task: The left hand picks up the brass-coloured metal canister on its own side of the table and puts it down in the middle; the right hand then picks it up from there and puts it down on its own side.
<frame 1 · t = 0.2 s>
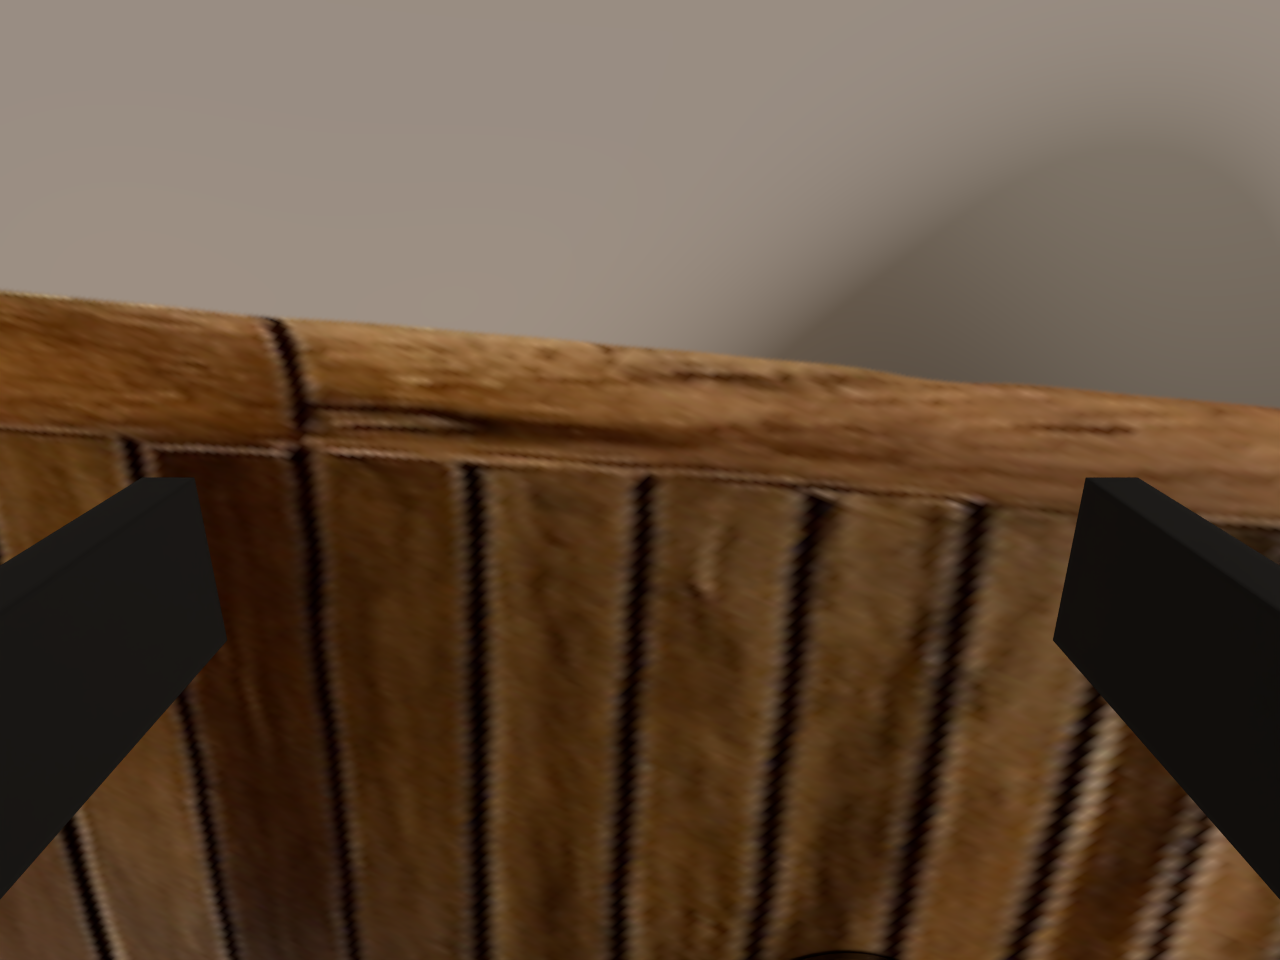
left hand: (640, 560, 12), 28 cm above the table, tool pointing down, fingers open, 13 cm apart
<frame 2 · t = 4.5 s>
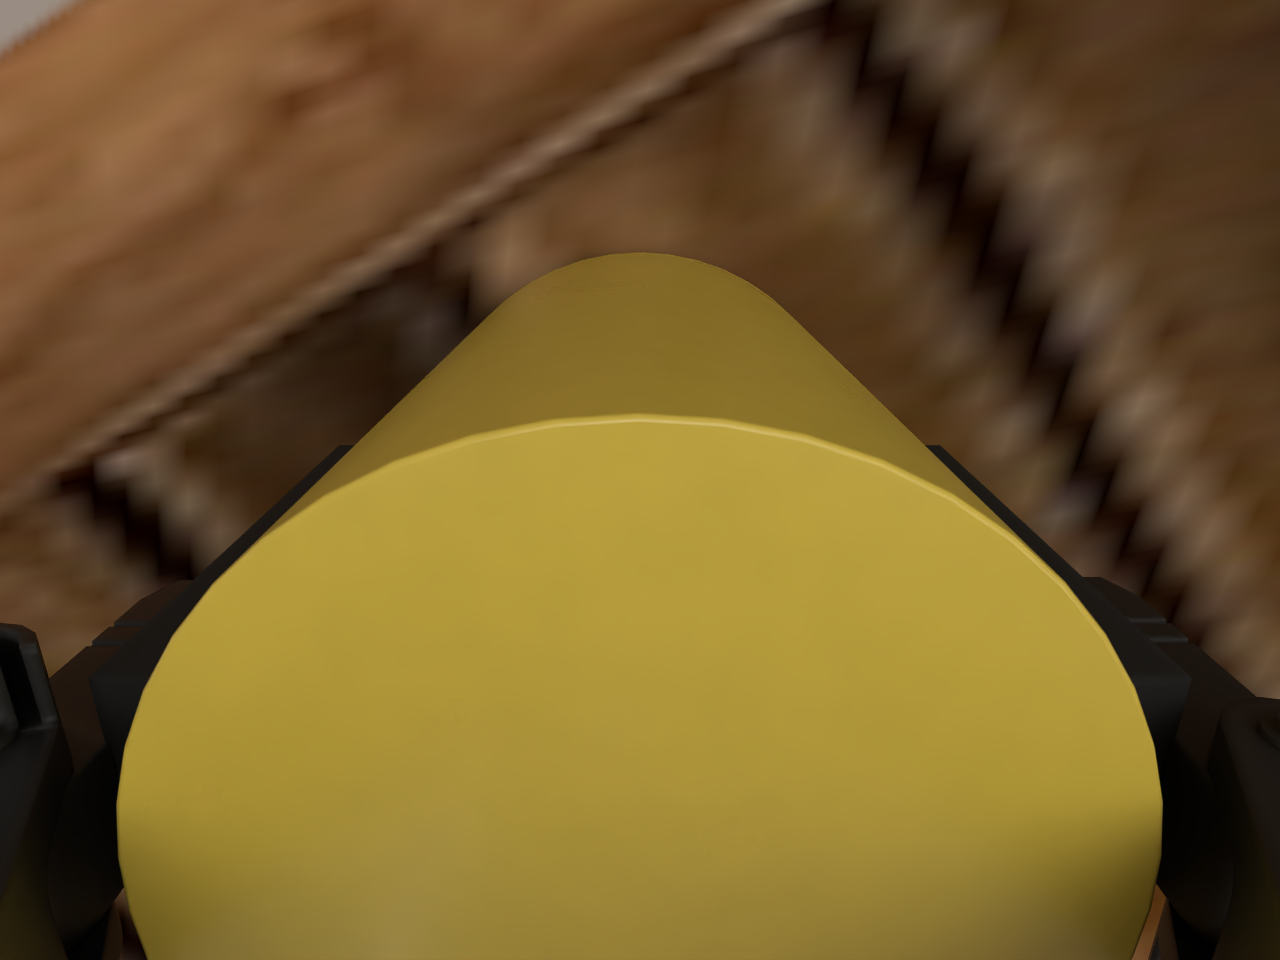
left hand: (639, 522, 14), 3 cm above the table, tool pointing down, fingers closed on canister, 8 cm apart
canister: (639, 461, 17), on the table, touching left hand
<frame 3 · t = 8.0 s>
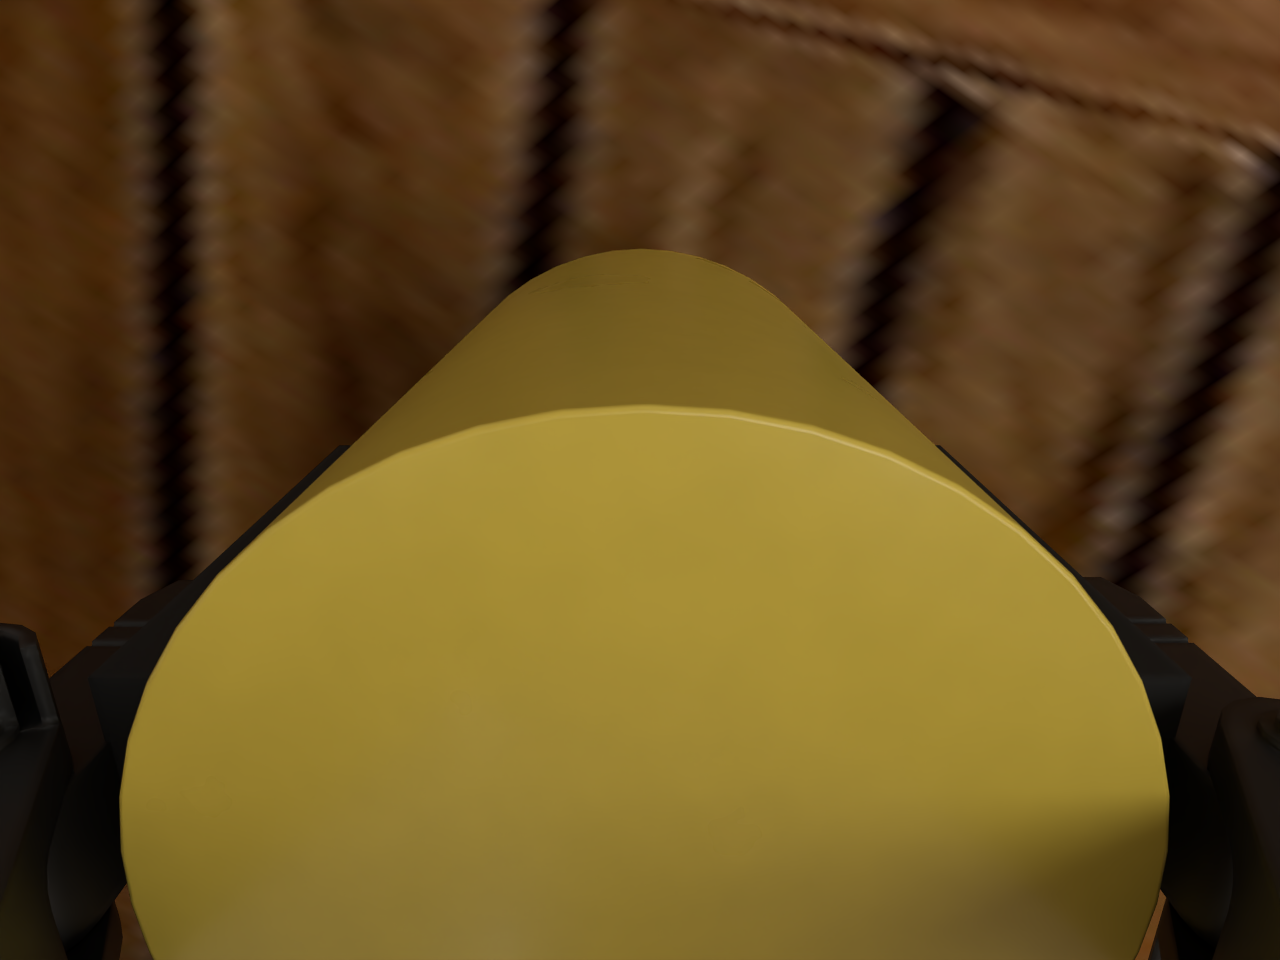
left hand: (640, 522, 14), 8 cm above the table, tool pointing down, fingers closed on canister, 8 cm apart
canister: (641, 458, 17), point 5 cm above the table, touching left hand
when the left hand's fingers open (5 cm above the table, at t = 11.7 s): canister drops 2 cm, on the table.
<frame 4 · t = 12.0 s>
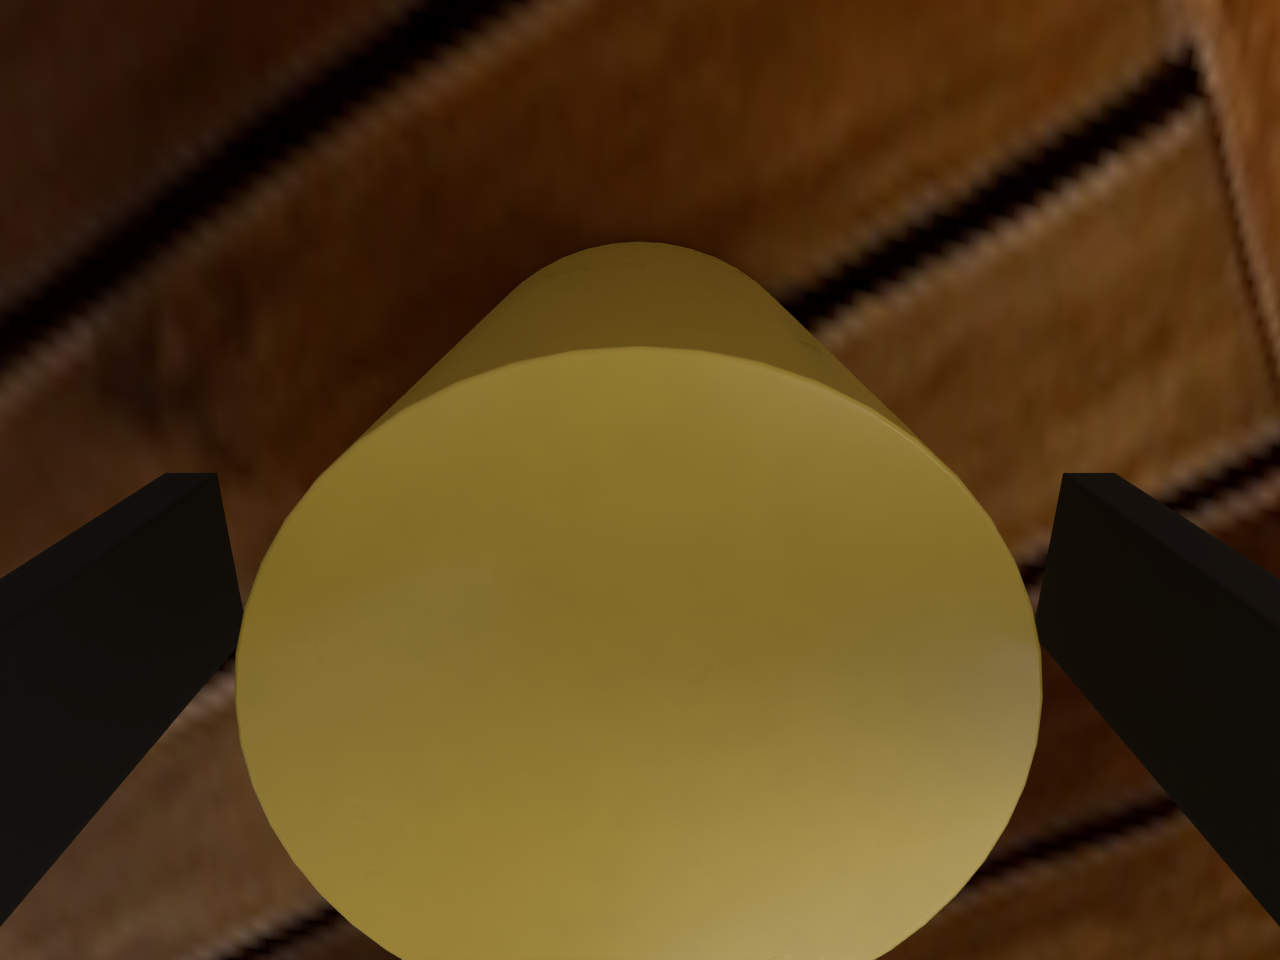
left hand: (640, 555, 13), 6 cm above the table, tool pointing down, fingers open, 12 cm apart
canister: (639, 430, 19), on the table
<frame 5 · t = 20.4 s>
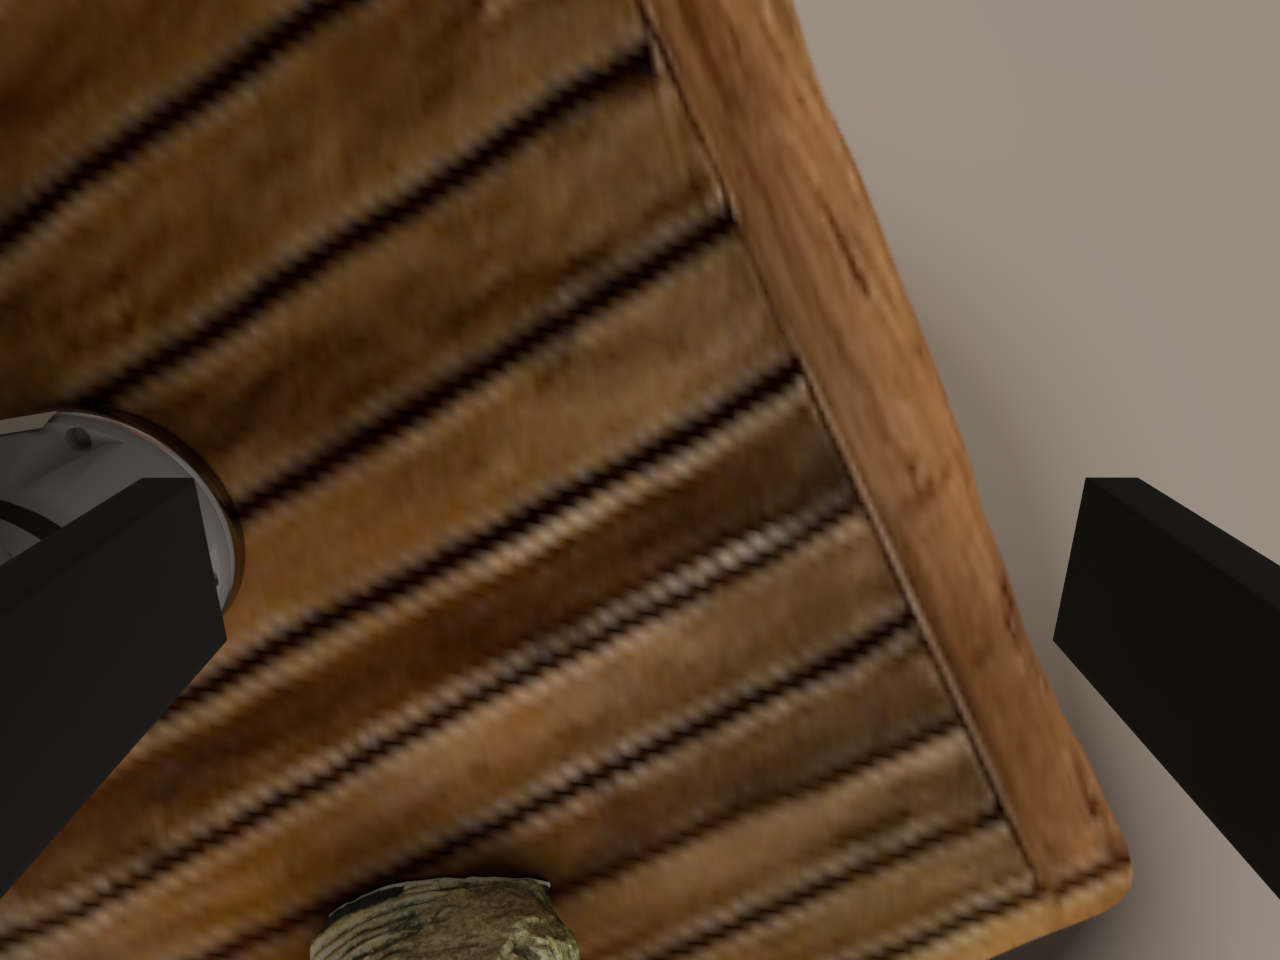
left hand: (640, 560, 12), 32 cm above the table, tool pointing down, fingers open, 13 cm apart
fossil: (454, 912, 57), on the table
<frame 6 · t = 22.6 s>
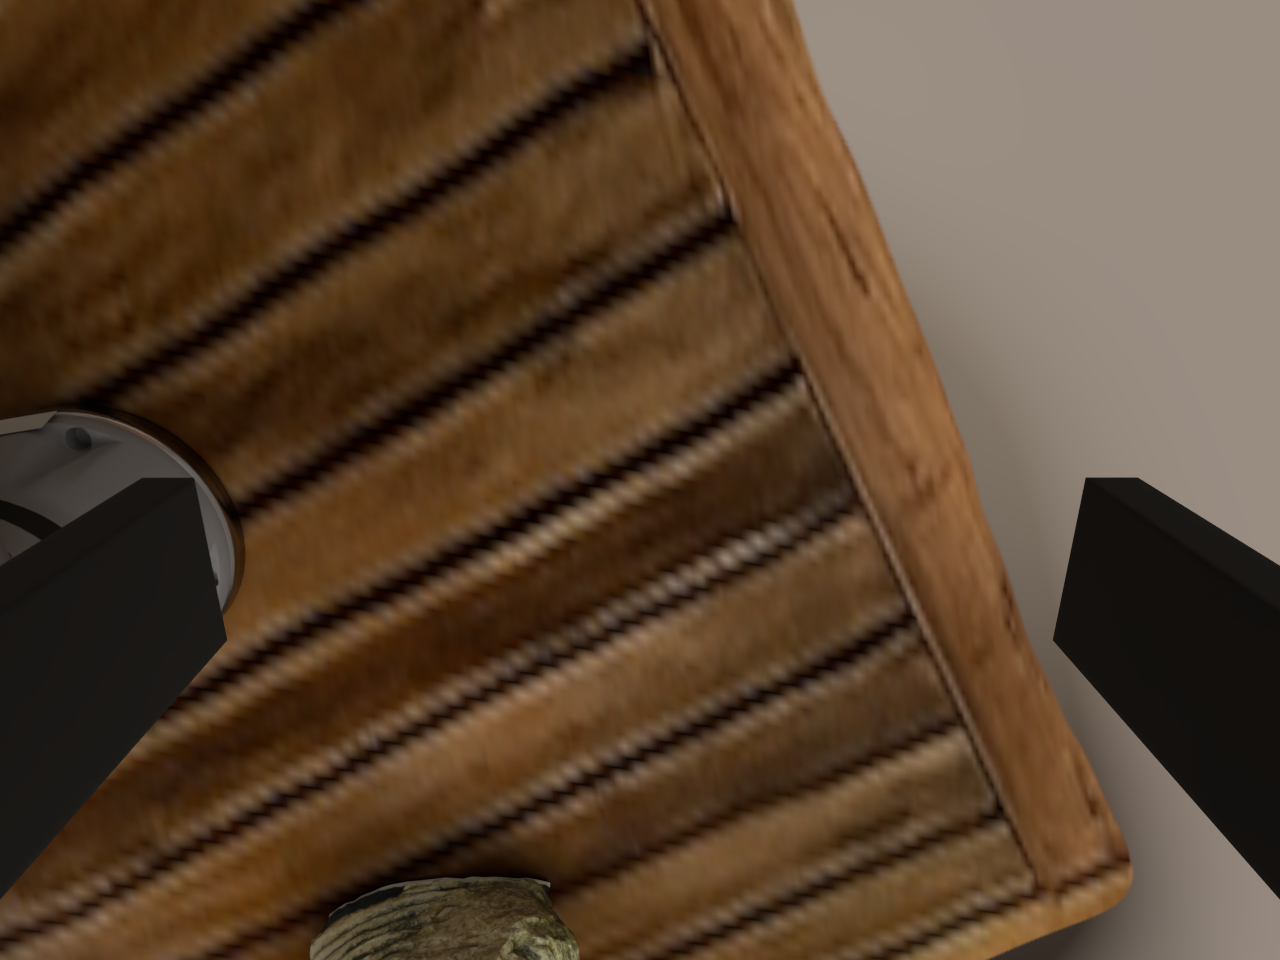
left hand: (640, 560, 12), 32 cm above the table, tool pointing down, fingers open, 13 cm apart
fossil: (454, 912, 57), on the table
when the right hand's fingers open (5 cm above the table, at t = 25.3 s): canister drops 2 cm, on the table.
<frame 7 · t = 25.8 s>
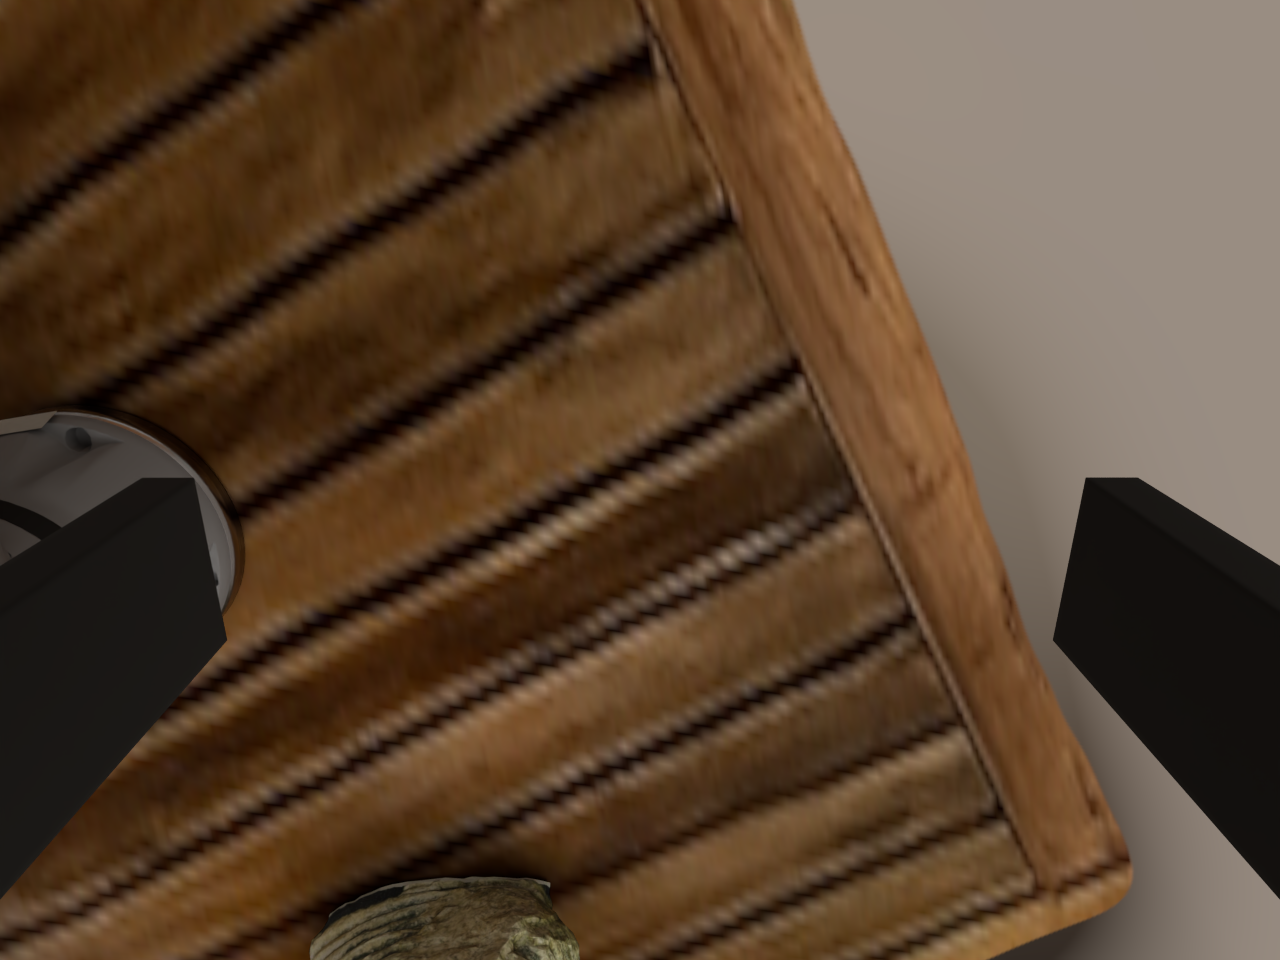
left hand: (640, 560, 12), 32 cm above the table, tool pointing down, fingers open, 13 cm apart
fossil: (454, 912, 57), on the table
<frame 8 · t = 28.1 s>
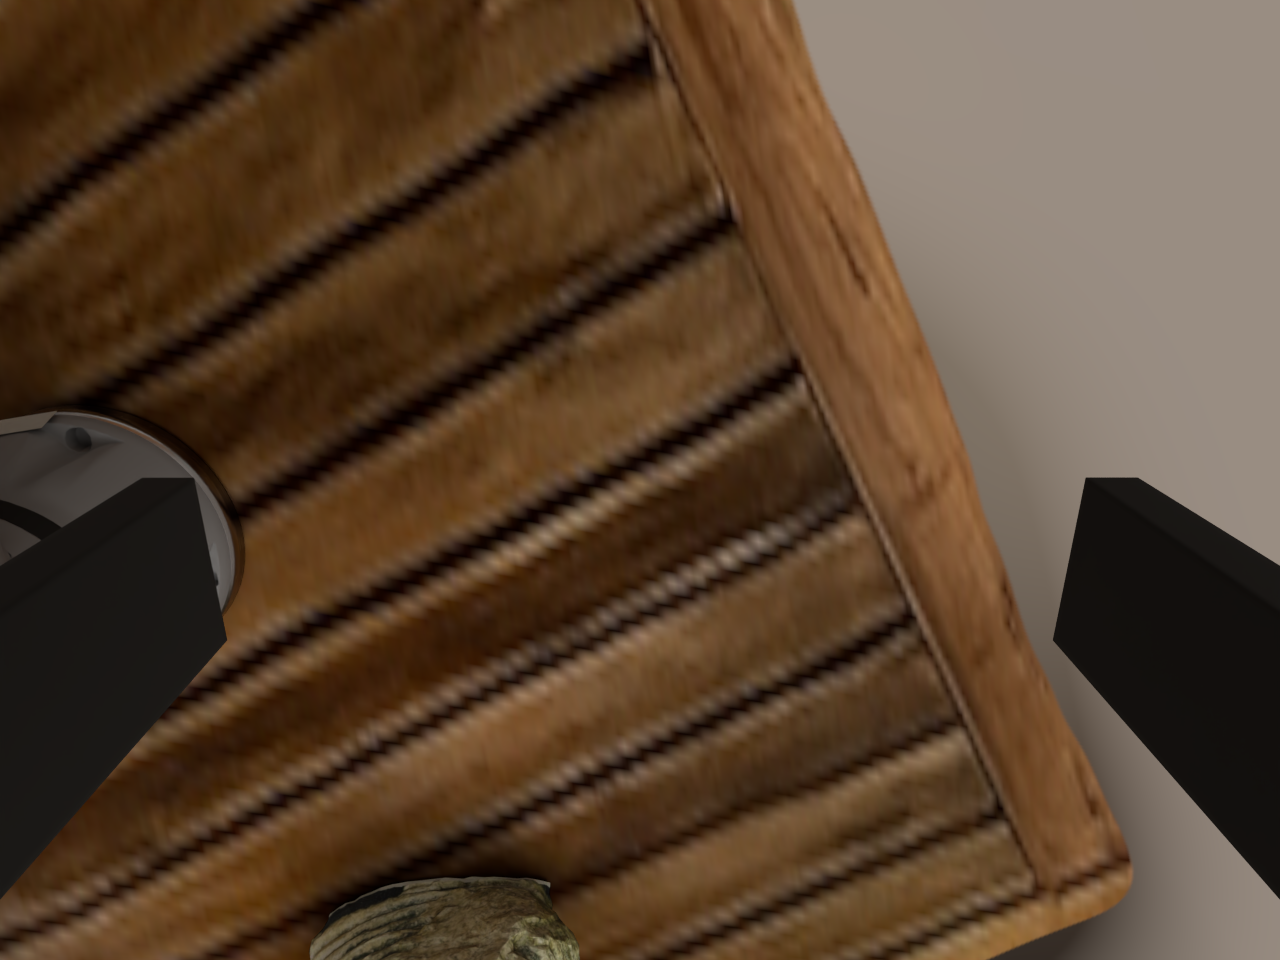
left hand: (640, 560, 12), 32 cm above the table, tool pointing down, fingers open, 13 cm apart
fossil: (454, 912, 57), on the table
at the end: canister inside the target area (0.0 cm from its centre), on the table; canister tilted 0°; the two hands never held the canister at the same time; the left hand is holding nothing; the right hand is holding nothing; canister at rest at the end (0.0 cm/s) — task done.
